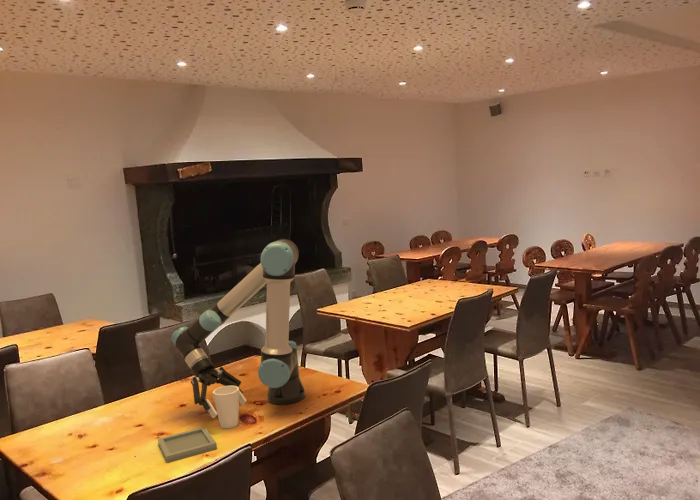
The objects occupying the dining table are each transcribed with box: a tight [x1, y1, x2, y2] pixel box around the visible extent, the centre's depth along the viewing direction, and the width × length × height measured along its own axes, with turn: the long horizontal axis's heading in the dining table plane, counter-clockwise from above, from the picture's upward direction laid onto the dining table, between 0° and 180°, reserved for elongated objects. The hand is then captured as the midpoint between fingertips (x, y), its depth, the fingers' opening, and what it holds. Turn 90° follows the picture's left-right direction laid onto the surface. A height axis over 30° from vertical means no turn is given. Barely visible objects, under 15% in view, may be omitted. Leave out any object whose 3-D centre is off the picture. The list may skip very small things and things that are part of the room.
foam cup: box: [212, 385, 240, 429], centre depth 206 cm, size 10×9×13 cm
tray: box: [157, 426, 218, 464], centre depth 191 cm, size 16×16×2 cm
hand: (230, 409), depth 205 cm, fingers open, 13 cm apart
